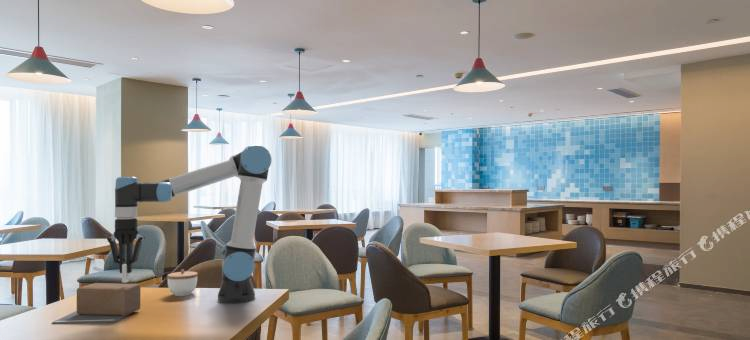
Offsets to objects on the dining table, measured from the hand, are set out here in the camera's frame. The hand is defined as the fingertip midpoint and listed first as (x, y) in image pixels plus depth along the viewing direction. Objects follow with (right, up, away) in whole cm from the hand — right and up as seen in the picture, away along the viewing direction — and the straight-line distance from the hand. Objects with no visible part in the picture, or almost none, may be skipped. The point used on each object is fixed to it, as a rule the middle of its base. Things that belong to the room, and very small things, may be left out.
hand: (125, 281), depth 184 cm
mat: (-10, -13, -2) cm, 16 cm away
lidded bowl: (+8, -14, +35) cm, 39 cm away
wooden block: (+3, -7, +1) cm, 7 cm away
